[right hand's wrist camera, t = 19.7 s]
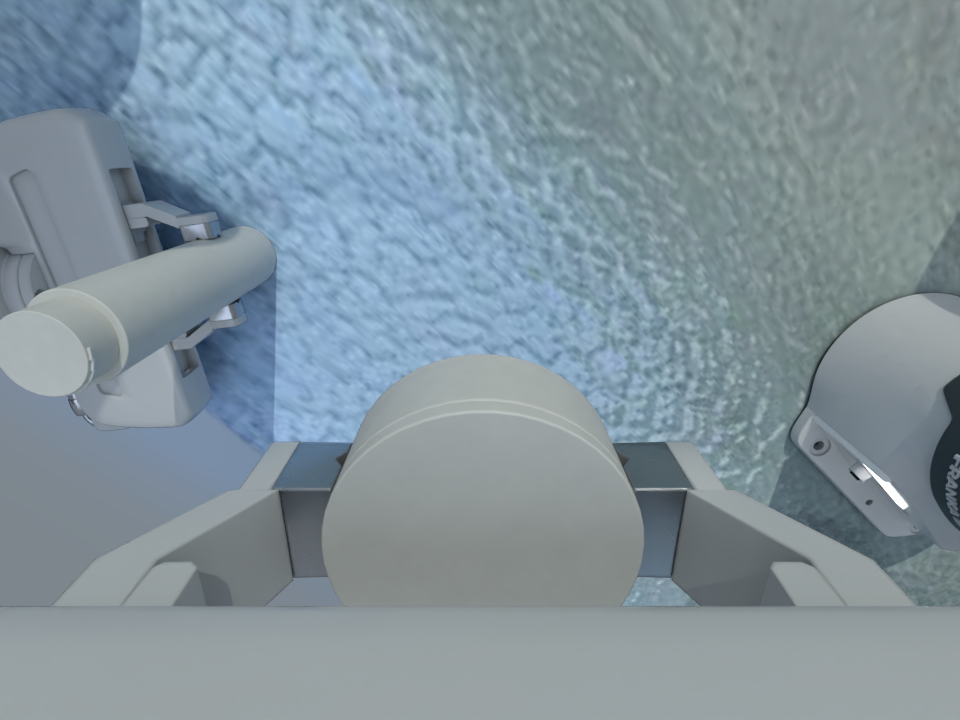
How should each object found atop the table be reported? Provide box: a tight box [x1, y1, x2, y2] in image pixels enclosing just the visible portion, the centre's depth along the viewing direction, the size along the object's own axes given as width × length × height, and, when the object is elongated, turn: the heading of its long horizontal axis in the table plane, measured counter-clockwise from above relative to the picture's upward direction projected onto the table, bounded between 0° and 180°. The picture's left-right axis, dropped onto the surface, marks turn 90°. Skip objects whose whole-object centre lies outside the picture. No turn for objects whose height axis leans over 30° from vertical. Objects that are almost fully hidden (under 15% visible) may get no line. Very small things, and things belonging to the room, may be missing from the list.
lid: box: [321, 355, 644, 606], centre depth 9 cm, size 5×5×2 cm
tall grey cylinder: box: [0, 226, 276, 397], centre depth 30 cm, size 4×4×20 cm
